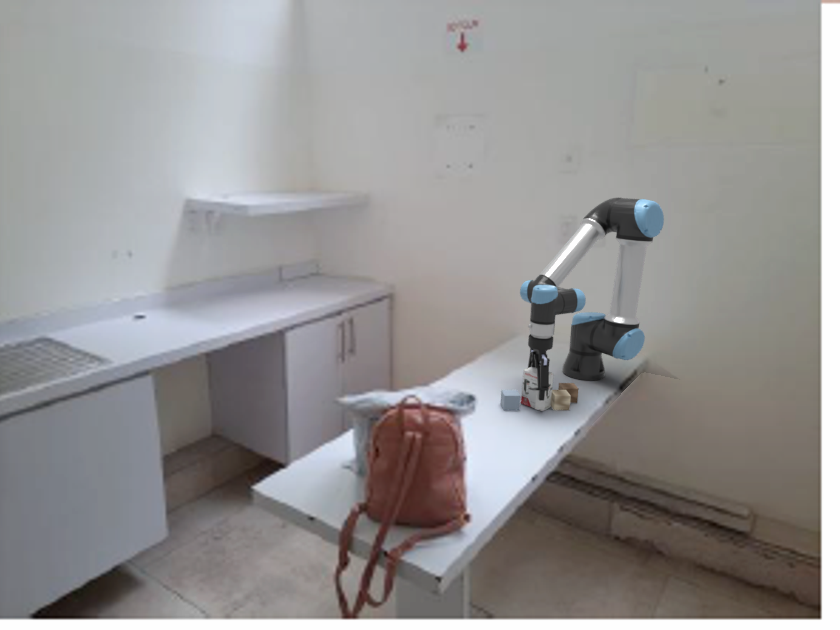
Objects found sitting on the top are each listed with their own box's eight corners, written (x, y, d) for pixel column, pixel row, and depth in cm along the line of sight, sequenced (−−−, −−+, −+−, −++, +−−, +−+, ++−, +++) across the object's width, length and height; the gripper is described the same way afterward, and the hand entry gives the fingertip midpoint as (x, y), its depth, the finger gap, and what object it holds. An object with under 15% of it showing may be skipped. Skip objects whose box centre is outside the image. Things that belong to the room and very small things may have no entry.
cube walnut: (572, 397, 193) (573, 383, 192) (577, 403, 188) (578, 388, 187) (557, 397, 192) (558, 382, 191) (562, 403, 188) (563, 388, 186)
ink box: (519, 403, 186) (522, 369, 183) (528, 399, 189) (531, 365, 186) (542, 412, 180) (545, 376, 177) (551, 407, 183) (554, 372, 180)
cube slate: (515, 404, 186) (516, 389, 184) (519, 410, 181) (520, 395, 180) (500, 404, 185) (501, 389, 184) (503, 410, 180) (504, 395, 179)
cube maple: (564, 404, 187) (565, 389, 185) (569, 410, 182) (570, 395, 181) (549, 404, 186) (550, 389, 185) (553, 410, 182) (555, 395, 180)
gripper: (521, 325, 189) (516, 389, 195) (538, 345, 168) (532, 417, 173) (543, 325, 190) (538, 389, 195) (563, 345, 168) (557, 417, 174)
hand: (535, 402), depth 184 cm, fingers closed on ink box, 9 cm apart
